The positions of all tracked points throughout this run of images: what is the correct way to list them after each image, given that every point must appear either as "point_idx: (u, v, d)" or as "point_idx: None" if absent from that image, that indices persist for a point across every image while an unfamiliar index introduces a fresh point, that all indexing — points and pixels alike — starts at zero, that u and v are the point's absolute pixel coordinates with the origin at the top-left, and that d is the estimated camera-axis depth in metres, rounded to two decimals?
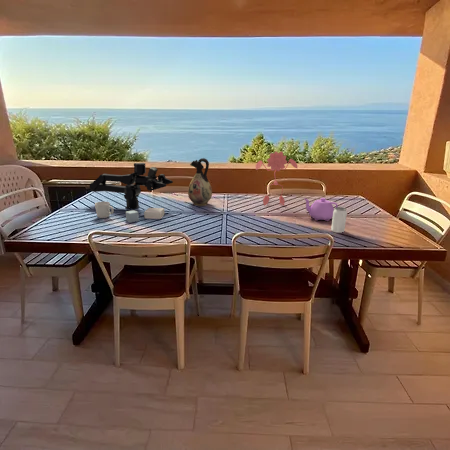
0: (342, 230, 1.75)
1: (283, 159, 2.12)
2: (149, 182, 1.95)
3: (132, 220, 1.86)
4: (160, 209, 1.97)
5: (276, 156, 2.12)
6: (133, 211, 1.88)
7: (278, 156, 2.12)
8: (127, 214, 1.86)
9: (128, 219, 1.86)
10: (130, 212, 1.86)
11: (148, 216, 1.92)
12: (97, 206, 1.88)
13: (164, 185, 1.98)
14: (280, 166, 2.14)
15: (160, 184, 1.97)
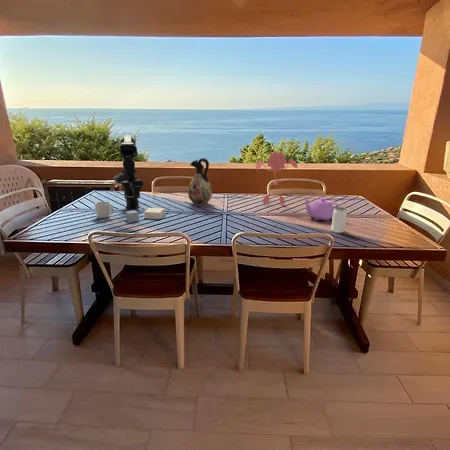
0: (342, 230, 1.75)
1: (283, 159, 2.12)
2: None
3: (132, 220, 1.86)
4: (160, 209, 1.97)
5: (276, 156, 2.12)
6: (133, 211, 1.88)
7: (278, 156, 2.12)
8: (127, 214, 1.86)
9: (128, 219, 1.86)
10: (130, 212, 1.86)
11: (148, 216, 1.92)
12: (97, 206, 1.88)
13: None
14: (280, 166, 2.14)
15: None
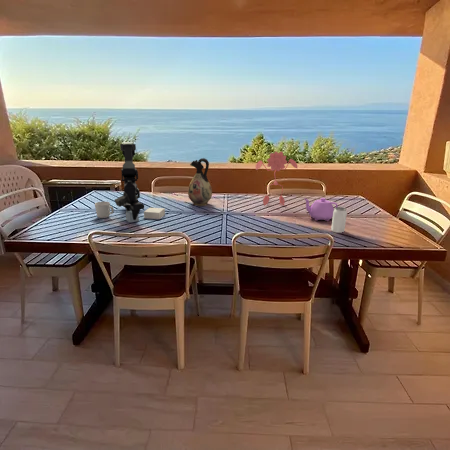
0: (342, 230, 1.75)
1: (283, 159, 2.12)
2: None
3: (132, 220, 1.86)
4: (160, 209, 1.96)
5: (276, 156, 2.12)
6: None
7: (278, 156, 2.12)
8: (127, 214, 1.86)
9: (128, 219, 1.86)
10: (130, 212, 1.86)
11: (147, 216, 1.93)
12: (97, 206, 1.88)
13: None
14: (280, 166, 2.14)
15: None
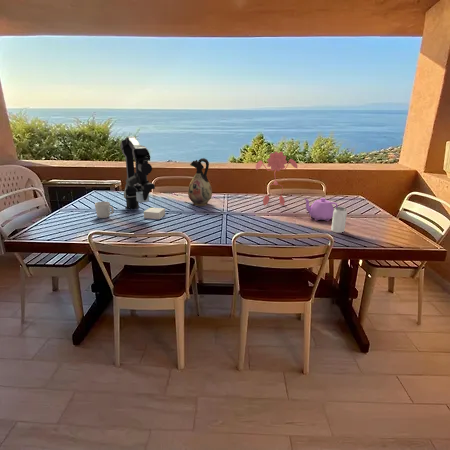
0: (342, 230, 1.75)
1: (283, 159, 2.12)
2: None
3: (142, 200, 1.87)
4: (160, 209, 1.96)
5: (276, 156, 2.12)
6: None
7: (278, 156, 2.12)
8: (138, 194, 1.87)
9: (138, 199, 1.87)
10: (141, 192, 1.87)
11: (147, 216, 1.93)
12: (97, 206, 1.88)
13: None
14: (280, 166, 2.14)
15: None
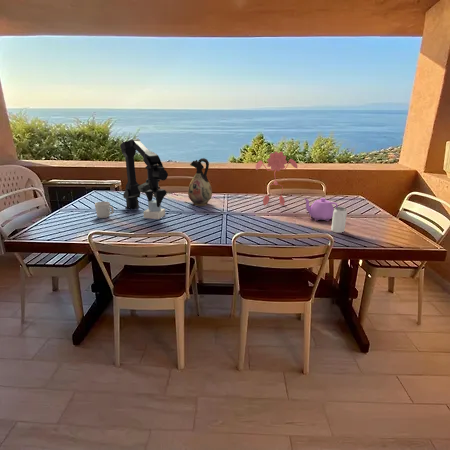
0: (342, 230, 1.75)
1: (283, 159, 2.12)
2: None
3: (155, 209, 1.93)
4: (160, 210, 1.96)
5: (276, 156, 2.12)
6: (155, 201, 1.95)
7: (278, 156, 2.12)
8: (150, 203, 1.93)
9: (151, 208, 1.93)
10: (153, 202, 1.93)
11: (147, 216, 1.93)
12: (97, 206, 1.88)
13: None
14: (280, 166, 2.14)
15: None
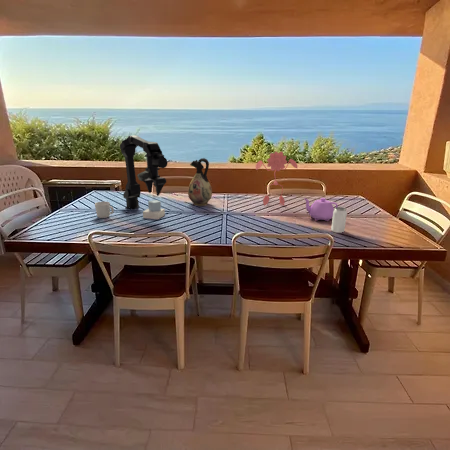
0: (342, 230, 1.75)
1: (283, 159, 2.12)
2: None
3: (155, 209, 1.93)
4: (160, 210, 1.96)
5: (276, 156, 2.12)
6: (155, 201, 1.95)
7: (278, 156, 2.12)
8: (150, 203, 1.93)
9: (151, 208, 1.94)
10: (153, 202, 1.93)
11: (146, 216, 1.93)
12: (97, 206, 1.88)
13: None
14: (280, 166, 2.14)
15: None
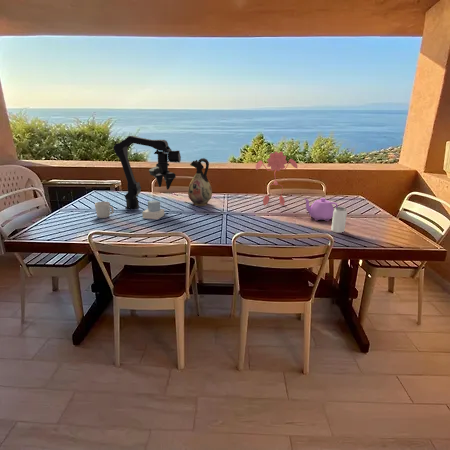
0: (342, 230, 1.75)
1: (283, 159, 2.12)
2: None
3: (154, 210, 1.93)
4: None
5: (276, 156, 2.12)
6: (155, 201, 1.95)
7: (278, 156, 2.12)
8: (149, 204, 1.93)
9: (150, 209, 1.93)
10: (152, 202, 1.93)
11: (146, 216, 1.92)
12: (97, 206, 1.88)
13: None
14: (280, 166, 2.14)
15: None
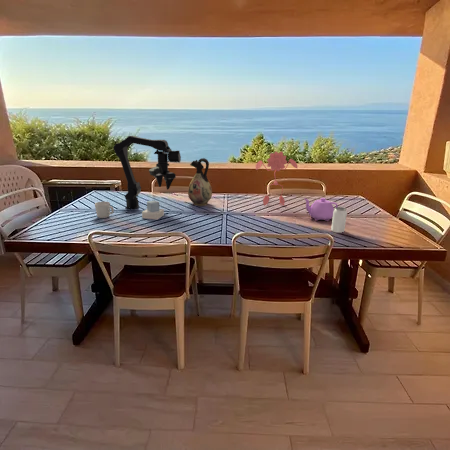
0: (342, 230, 1.75)
1: (283, 159, 2.12)
2: None
3: (153, 210, 1.92)
4: None
5: (276, 156, 2.12)
6: (154, 201, 1.94)
7: (278, 156, 2.12)
8: (148, 204, 1.93)
9: (149, 209, 1.93)
10: (151, 202, 1.93)
11: (145, 216, 1.92)
12: (97, 206, 1.88)
13: None
14: (280, 166, 2.14)
15: None
